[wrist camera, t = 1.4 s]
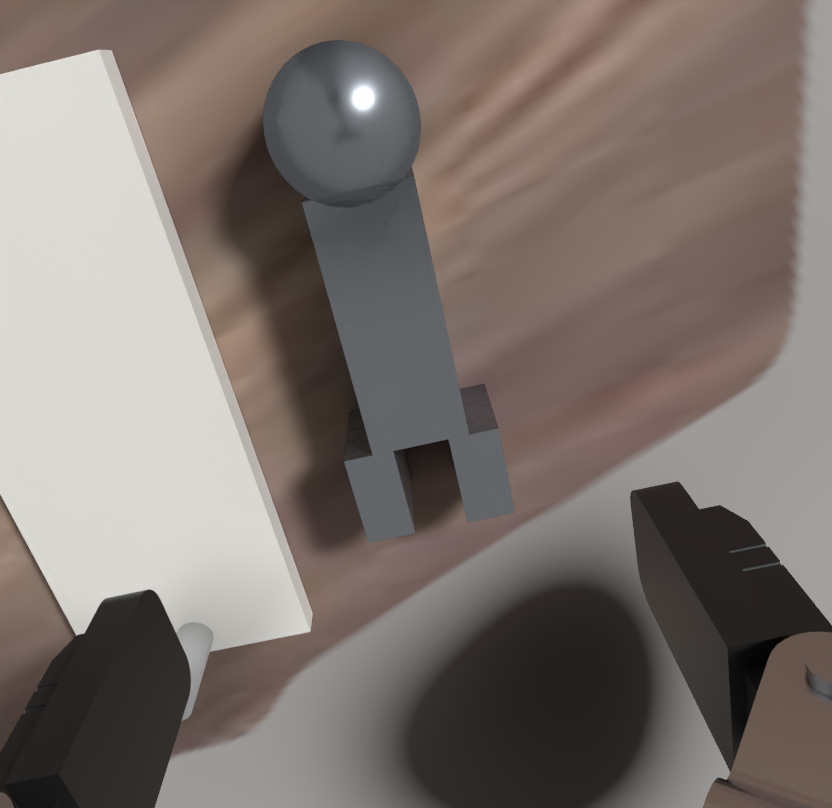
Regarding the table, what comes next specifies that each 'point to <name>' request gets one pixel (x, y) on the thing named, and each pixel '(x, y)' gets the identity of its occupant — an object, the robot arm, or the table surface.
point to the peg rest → (122, 382)
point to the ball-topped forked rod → (380, 279)
